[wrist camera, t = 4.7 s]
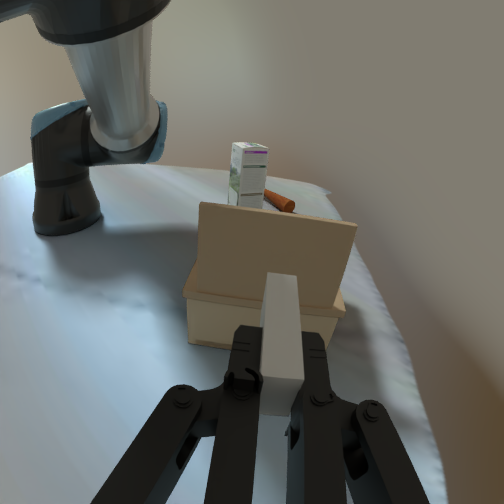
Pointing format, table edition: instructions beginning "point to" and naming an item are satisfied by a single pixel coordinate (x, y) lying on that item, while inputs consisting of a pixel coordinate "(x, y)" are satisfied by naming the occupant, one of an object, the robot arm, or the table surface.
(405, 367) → the table surface
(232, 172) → the syrup box
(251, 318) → the box
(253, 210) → the lid
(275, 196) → the kendama
